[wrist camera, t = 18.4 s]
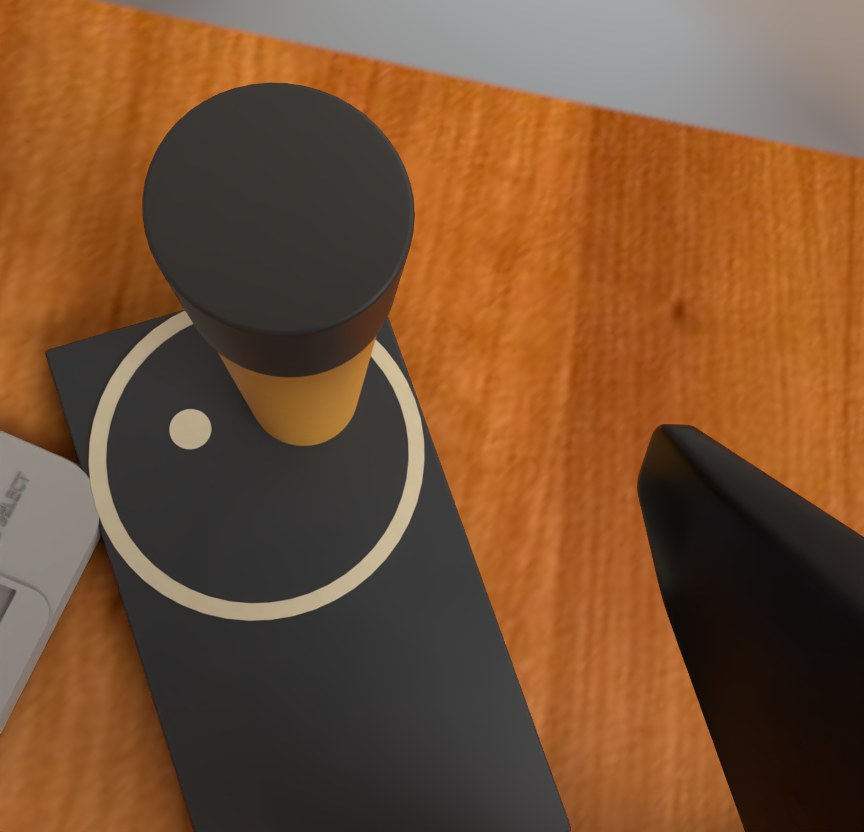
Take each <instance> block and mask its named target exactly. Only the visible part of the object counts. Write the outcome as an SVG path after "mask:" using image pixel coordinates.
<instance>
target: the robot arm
mask: <svg viewBox="0 0 864 832" xmlns="http://www.w3.org/2000/svg"><path fill="white" fill-rule="evenodd" d="M637 490H638V497H639V501H640V506H641V510H642V514H643V519H644V523H645V527H646V532H647V536H648V540H649V545H650V549H651V553H652V558H653V562H654V566H655V571H656V575H657V579H658V584H659V587H660V591H661V595H662V599H663V602H664V605H665V608H666V611H667V614H668V617H669V620H670V623H671V626H672V629H673V631H674V634H675V637H676V640H677V643H678V645H679V648H680V651H681V654H682V657H683V659H684V662H685V665H686V668H687V670H688V673H689V676H690V679H691V682H692V684H693V687H694V690H695V693H696V696H697V698H698V701H699V704H700V707H701V710H702V712H703V715H704V718H705V721H706V724H707V726H708V729H709V732H710V735H711V738H712V740H713V743H714V746H715V749H716V752H717V754H718V757H719V760H720V763H721V766H722V768H723V771H724V774H725V777H726V780H727V782H728V785H729V788H730V791H731V794H732V796H733V799H734V802H735V805H736V807H737V810H738V813H739V816H740V819H741V821H742V824H743V827H744V830H745V832H864V537H863V536H861V535H860V534H858V533H857V532H855V531H854V530H852V529H850V528H849V527H847V526H846V525H844V524H843V523H841V522H840V521H838V520H837V519H835V518H834V517H832V516H830V515H829V514H827V513H826V512H824V511H823V510H821V509H820V508H818V507H817V506H815V505H814V504H812V503H811V502H809V501H807V500H806V499H804V498H803V497H801V496H800V495H798V494H797V493H795V492H794V491H792V490H791V489H789V488H787V487H786V486H784V485H783V484H781V483H780V482H778V481H777V480H775V479H774V478H772V477H771V476H769V475H767V474H766V473H764V472H763V471H761V470H760V469H758V468H757V467H755V466H754V465H752V464H751V463H749V462H748V461H746V460H744V459H743V458H741V457H740V456H738V455H737V454H735V453H734V452H732V451H731V450H729V449H728V448H726V447H725V446H723V445H721V444H720V443H718V442H717V441H715V440H714V439H712V438H711V437H709V436H708V435H706V434H705V433H703V432H702V431H700V430H698V429H697V428H695V427H694V426H691V425H676V424H662V425H660V426H658V427H657V428H656V429H655V431H654V432H653V434H652V437H651V440H650V443H649V446H648V449H647V452H646V454H645V457H644V460H643V463H642V466H641V469H640V472H639V476H638V481H637Z"/></svg>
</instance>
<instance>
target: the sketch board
mask: <svg viewBox="0 0 864 832" xmlns="http://www.w3.org/2000/svg"><path fill="white" fill-rule="evenodd" d="M45 354H46V358H47V361H48V364H49V367H50V370H51V374H52V377H53V380H54V383H55V387H56V390H57V393H58V396H59V399H60V403H61V406H62V409H63V412H64V415H65V419H66V422H67V425H68V428H69V431H70V435H71V438H72V441H73V444H74V448H75V451H76V454H77V457H78V460H79V464H80V467H81V469H82V470H83V471H84V472H85V474H86V475H87V476H88V477H89V478H90V485H91V490H92V494H93V498H94V502H95V506H96V509H97V512H98V514H99V528H100V531H101V534H102V537H103V541H104V544H105V547H106V550H107V553H108V557H109V560H110V563H111V566H112V569H113V573H114V576H115V579H116V582H117V586H118V589H119V592H120V595H121V598H122V602H123V605H124V608H125V611H126V614H127V618H128V621H129V624H130V627H131V630H132V634H133V637H134V640H135V643H136V647H137V650H138V653H139V656H140V659H141V663H142V666H143V669H144V672H145V675H146V679H147V682H148V685H149V688H150V691H151V695H152V698H153V701H154V704H155V708H156V711H157V714H158V717H159V720H160V724H161V727H162V730H163V733H164V736H165V740H166V743H167V746H168V749H169V752H170V756H171V759H172V762H173V765H174V769H175V772H176V775H177V778H178V781H179V785H180V788H181V791H182V794H183V797H184V801H185V804H186V807H187V810H188V813H189V817H190V820H191V823H192V826H193V830H194V832H570V831H571V826H570V823H569V820H568V818H567V815H566V812H565V809H564V807H563V804H562V801H561V798H560V795H559V793H558V790H557V787H556V784H555V781H554V779H553V776H552V773H551V770H550V767H549V765H548V762H547V759H546V756H545V754H544V751H543V748H542V745H541V742H540V740H539V737H538V734H537V731H536V728H535V726H534V723H533V720H532V717H531V714H530V712H529V709H528V706H527V703H526V700H525V698H524V695H523V692H522V689H521V687H520V684H519V681H518V678H517V675H516V673H515V670H514V667H513V664H512V661H511V659H510V656H509V653H508V650H507V647H506V645H505V642H504V639H503V636H502V633H501V631H500V628H499V625H498V622H497V620H496V617H495V614H494V611H493V608H492V606H491V603H490V600H489V597H488V594H487V592H486V589H485V586H484V583H483V580H482V578H481V575H480V572H479V569H478V566H477V564H476V561H475V558H474V555H473V553H472V550H471V547H470V544H469V541H468V539H467V536H466V533H465V530H464V527H463V525H462V522H461V519H460V516H459V513H458V511H457V508H456V505H455V502H454V500H453V497H452V494H451V491H450V488H449V486H448V483H447V480H446V477H445V474H444V472H443V469H442V466H441V463H440V460H439V458H438V455H437V452H436V449H435V446H434V444H433V441H432V438H431V435H430V433H429V430H428V427H427V424H426V421H425V419H424V416H423V413H422V410H421V407H420V405H419V402H418V399H417V396H416V393H415V391H414V388H413V385H412V382H411V379H410V377H409V374H408V371H407V368H406V366H405V363H404V360H403V357H402V354H401V352H400V349H399V346H398V343H397V340H396V338H395V335H394V332H393V329H392V326H391V324H390V321H389V318H388V317H387V319H386V321H385V323H384V325H383V326H382V328H381V330H380V331H379V333H378V334H377V336H376V339H375V343H374V346H373V350H372V353H371V357H370V360H369V364H368V368H367V371H366V375H365V378H364V382H363V385H362V389H361V392H360V396H359V399H358V403H357V406H356V409H355V412H354V415H353V416H352V418H351V420H350V422H349V423H348V424H347V426H346V427H345V428H344V429H343V430H342V431H341V432H340V433H339V434H337V435H336V436H335V437H333V438H332V439H330V440H328V441H325V442H323V443H320V444H316V445H311V446H297V445H291V444H287V443H285V442H282V441H280V440H278V439H276V438H274V437H273V436H271V435H270V434H269V433H267V432H266V431H265V430H264V429H263V428H262V426H261V425H260V424H259V423H258V421H257V420H256V418H255V416H254V415H253V413H252V411H251V409H250V408H249V406H248V404H247V402H246V401H245V399H244V397H243V395H242V394H241V392H240V390H239V388H238V387H237V385H236V383H235V381H234V380H233V378H232V376H231V375H230V373H229V371H228V369H227V368H226V366H225V364H224V362H223V361H222V359H221V357H220V355H219V354H218V352H217V351H216V350H215V349H214V348H213V347H212V346H211V345H209V344H208V343H207V341H206V340H205V339H204V338H203V337H202V335H201V334H200V333H199V332H198V330H197V329H196V327H195V325H194V324H193V322H192V321H191V319H190V317H189V316H188V314H187V313H186V311H185V310H182V311H179V312H175V313H172V314H168V315H165V316H162V317H158V318H155V319H151V320H148V321H145V322H141V323H138V324H134V325H131V326H128V327H124V328H121V329H117V330H114V331H111V332H107V333H104V334H100V335H97V336H94V337H90V338H87V339H83V340H80V341H77V342H73V343H70V344H66V345H63V346H60V347H56V348H53V349H49V350H47V351H46V352H45Z"/></svg>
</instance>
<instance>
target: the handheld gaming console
mask: <svg viewBox="0 0 864 832" xmlns="http://www.w3.org/2000/svg"><path fill="white" fill-rule="evenodd" d="M101 535H102V534H101V531H100V528H99V514H98V512H97V509H96V506H95V502H94V498H93V494H92V490H91V485H90V478H89V477H88V476H87V475H86V474H85V472H84V471H83V470H82V469H81V467H80V465H79V464H77V463H76V462H74V461H71V460H69V459H67V458H64V457H62V456H60V455H57V454H55V453H53V452H50V451H48V450H46V449H43V448H41V447H39V446H36V445H34V444H32V443H29V442H27V441H25V440H22V439H20V438H18V437H15V436H13V435H11V434H8V433H6V432H4V431H1V430H0V735H1V733H2V731H3V729H4V727H5V725H6V723H7V721H8V719H9V717H10V715H11V713H12V711H13V709H14V707H15V705H16V703H17V701H18V699H19V697H20V695H21V693H22V691H23V689H24V687H25V685H26V683H27V681H28V679H29V677H30V675H31V673H32V671H33V669H34V668H35V666H36V664H37V662H38V660H39V658H40V656H41V654H42V652H43V650H44V648H45V646H46V644H47V642H48V640H49V638H50V636H51V634H52V632H53V630H54V628H55V626H56V624H57V622H58V620H59V618H60V616H61V614H62V612H63V610H64V608H65V606H66V604H67V602H68V601H69V599H70V597H71V595H72V593H73V591H74V589H75V587H76V585H77V583H78V581H79V579H80V577H81V575H82V573H83V571H84V569H85V567H86V565H87V563H88V561H89V559H90V557H91V555H92V553H93V551H94V549H95V547H96V545H97V543H98V541H99V539H100V537H101Z"/></svg>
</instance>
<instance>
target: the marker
mask: <svg viewBox="0 0 864 832" xmlns="http://www.w3.org/2000/svg"><path fill="white" fill-rule="evenodd" d="M142 202H143V222H144V228H145V234H146V237H147V241H148V244H149V247H150V250H151V252H152V254H153V257H154V259H155V261H156V263H157V265H158V267H159V269H160V270H161V272H162V273H163V275H164V277H165V278H166V280H167V282H168V283H169V285H170V287H171V288H172V290H173V291H174V293H175V295H176V296H177V298H178V300H179V301H180V303H181V304H182V306H183V308H184V309H185V311H186V313H187V314H188V316H189V317H190V319H191V321H192V322H193V324H194V325H195V327H196V329H197V330H198V332H199V333H200V334H201V335H202V337H203V338H204V339H205V340H206V341H207V343H208V344H209V345H211V346H212V347H213V348H214V349H215V350H216V351H217V352H218V354H219V355H220V357H221V359H222V361H223V362H224V364H225V366H226V368H227V369H228V371H229V373H230V375H231V376H232V378H233V380H234V381H235V383H236V385H237V387H238V388H239V390H240V392H241V394H242V395H243V397H244V399H245V401H246V402H247V404H248V406H249V408H250V409H251V411H252V413H253V415H254V416H255V418H256V420H257V421H258V423H259V424H260V425H261V426H262V428H263V429H264V430H265V431H266V432H267V433H269V434H270V435H271V436H273V437H274V438H276V439H278V440H280V441H282V442H285V443H287V444H291V445H297V446H311V445H316V444H320V443H323V442H325V441H328V440H330V439H332V438H333V437H335V436H336V435H337V434H339V433H340V432H341V431H342V430H343V429H344V428H345V427H346V426H347V424H348V423H349V422H350V420H351V418H352V416H353V415H354V412H355V409H356V406H357V403H358V399H359V396H360V392H361V389H362V385H363V382H364V378H365V375H366V371H367V368H368V364H369V360H370V357H371V353H372V350H373V346H374V343H375V339H376V336H377V334H378V333H379V331H380V330H381V328H382V326H383V325H384V323H385V321H386V319H387V317H388V315H389V312H390V309H391V306H392V304H393V300H394V297H395V294H396V291H397V288H398V284H399V281H400V278H401V275H402V272H403V268H404V265H405V262H406V259H407V256H408V252H409V249H410V245H411V241H412V236H413V231H414V218H415V213H414V199H413V194H412V189H411V184H410V181H409V178H408V175H407V172H406V169H405V167H404V165H403V163H402V161H401V159H400V157H399V155H398V153H397V151H396V150H395V148H394V147H393V145H392V144H391V142H390V141H389V139H388V138H387V137H386V136H385V135H384V133H383V132H382V131H381V130H380V129H379V128H378V126H377V125H375V124H374V123H373V122H372V121H371V120H370V119H369V118H368V117H367V116H366V115H364V114H363V113H362V112H360V111H359V110H357V109H356V108H355V107H353V106H352V105H350V104H348V103H347V102H345V101H343V100H341V99H339V98H337V97H336V96H333V95H330V94H328V93H325V92H323V91H320V90H317V89H313V88H310V87H306V86H301V85H294V84H288V83H262V84H252V85H247V86H242V87H238V88H234V89H231V90H228V91H225V92H223V93H220V94H217V95H215V96H213V97H211V98H210V99H208V100H206V101H204V102H202V103H201V104H199V105H198V106H196V107H195V108H193V109H192V110H190V111H189V112H188V113H187V114H186V115H185V116H183V117H182V118H181V119H180V120H179V121H178V122H177V123H176V124H175V125H174V126H173V128H172V129H171V130H170V131H169V132H168V133H167V135H166V136H165V138H164V139H163V141H162V142H161V144H160V145H159V147H158V149H157V150H156V152H155V155H154V157H153V159H152V161H151V163H150V166H149V169H148V173H147V176H146V179H145V184H144V191H143V199H142Z"/></svg>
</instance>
